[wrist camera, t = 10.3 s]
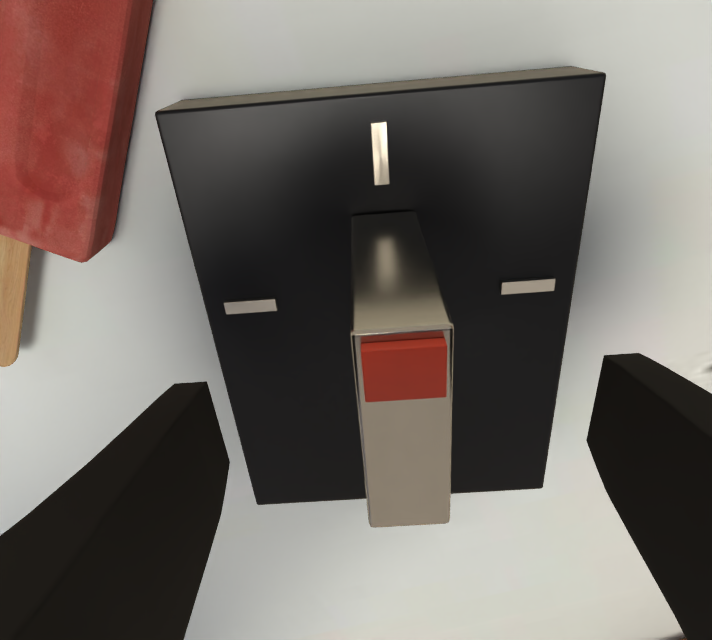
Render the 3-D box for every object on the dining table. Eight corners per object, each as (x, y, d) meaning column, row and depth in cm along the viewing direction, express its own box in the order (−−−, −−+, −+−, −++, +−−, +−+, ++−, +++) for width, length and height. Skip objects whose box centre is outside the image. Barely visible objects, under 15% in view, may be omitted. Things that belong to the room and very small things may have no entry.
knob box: (526, 447, 19) (545, 492, 17) (265, 463, 20) (255, 509, 18) (573, 65, 13) (611, 73, 11) (179, 100, 13) (150, 112, 11)
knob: (419, 363, 15) (452, 536, 10) (364, 367, 15) (369, 540, 10) (416, 210, 12) (458, 333, 7) (350, 215, 12) (349, 340, 7)
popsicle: (-100, 357, 15) (-108, -370, 8) (-58, 327, 16) (-36, -306, 10) (61, 404, 16) (174, -214, 9) (86, 372, 17) (199, -177, 10)
